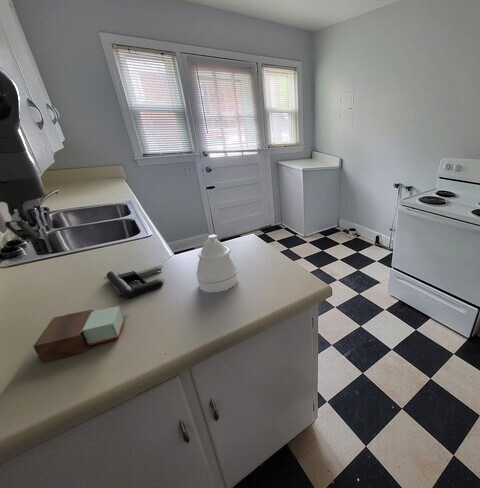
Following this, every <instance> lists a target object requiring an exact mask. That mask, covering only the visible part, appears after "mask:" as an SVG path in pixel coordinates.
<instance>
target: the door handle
mask: <svg viewBox="0 0 480 488" xmlns="http://www.w3.org/2000/svg"><path fill="white" fill-rule="evenodd" d="M158 271H161V272H162V267H160V266H159V265H158V266H155V267H152V268H148V269H144V270H141V271H137V272H136V271H135V270H132V271H128V272H125V273H120V274H118V273H117V272H116V271H114V270H113V271H112V270H111V271H110V270H109V271H108V272H107V273H106V277H105V279H108V281H109V282H110V283H111V284H112V287H113V286H114V287H113V288H114V289H115V290H116V291H117V294H119V297H121V296H122V297H123V298H125V299H131V298H133V297H134V296H137V295H140V294H143V293H147V292H149V291H152V290H154V289H157V288H161V287H163V285H164V283H163V281H162V280H161V279H154V280H150V281H146V280H145V279H143V278H144V276H145V277H148V276H151V275H154V274H153V273H155V274H157V273H156V272H158ZM158 273H159V272H158ZM150 274H151V275H150ZM147 275H148V276H147ZM135 280H138V282H139V281H140V282H139V283H141V284H139V283H136V284H135V285H133V286H130V285H129V284H130V283H129V282H131V283H133V282H132V281H134V282H136V281H135ZM127 283H128V284H127Z"/></svg>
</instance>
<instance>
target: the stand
mask: <svg viewBox="0 0 480 488" xmlns="http://www.w3.org/2000/svg"><path fill="white" fill-rule="evenodd" d="M93 311H94V309H87V310H83V311H82V310H81V311H78V312H74V313H73V312H72V313H68V314H63V315H59V316H55V317H53V318H52V319H51V320H50V321H49V323H48V324H47V326H46V328H45V329H44V330H43V331H42V333H41V334H40V336H39V337H38V339H37V340H36V341H35V343H34V344H33V348H34V351H35V352H36V354H37V356H38V358H39V360H40V362H41V363H42V364H46V363H47V364H48V363H51V362H55V361H59V360H63V359H66V358H70V357H75V356H78V355H81V354H85V353H87V352H88V350H89V348H90V346H88V345H87V344H88V343H87V341H86V339H85V336H84V334H83V332H82V330H83V328H84V326H85V324H86V322H87V320H88V318H89V316H90V314H91V312H93Z"/></svg>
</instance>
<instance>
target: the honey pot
mask: <svg viewBox="0 0 480 488" xmlns="http://www.w3.org/2000/svg"><path fill="white" fill-rule="evenodd" d="M230 253H231V249H230V248H229V247H228V246H225V245H223V243H222V242H221V241H220V240H219V239H218V235H217V234H209V235H208V239H206V240H205V241H204V243H203V246H202V248H201V250H200V251H199V252H198V254H197V256H198V258H199V260H198V262H197V270H196V272H195V273H196V279H197V284H198V288H199V287H200V288H199V290H201V291H202V290H203V291H202V292H205V291H206V292H205V293H219V292H220V291H221V292H224V291H228V290H229V288H230V289H231V288H233V287H235V286H236V285H237V284H238V282H239V275H238V271H237V265H236V263H235V262H234V260H233V257H232V256H231V255H230ZM237 281H238V282H237ZM236 283H237V284H236ZM235 284H236V285H235ZM232 286H233V287H232Z"/></svg>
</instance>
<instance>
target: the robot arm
mask: <svg viewBox="0 0 480 488" xmlns="http://www.w3.org/2000/svg"><path fill="white" fill-rule="evenodd" d="M20 104H21V103H20V93H19V89H18V87H17V84H16V83H15V81H14V79H13V78H12V77H11V75H10V74H9V73H8V72H7V71H6V70H4V68H2V67H0V203H4V204H6V206H7V211H8V214H9V216H10V218H11V220H10V221H5V222H4V225H5V227H6V228H7V229H8V230H9V231H11V232H12V233H13V234H14V235H15V236H17V238H19V239H20V240H22V241H30V243H31V245H32V248H33V250H34V252H35V254H36V255H37V256H47V255H49V254H51V253H52V252H53V249H52V246H51V244H50V241H49V239H48V235H49V233H48V232H50V231H51V211H50V210H51V209H50V208H49V206H44V205H42V202H41V201H40V199H42V198H45V197H46V195H47V191H46V189H45V187H44V184H43V181H42V179H41V176H40V173H39V171H38V168H37V165H36V163H35V161H34V159H33V157H32V155H31V153H30V151H29V148H28V146H27V143H26V141H25V138H24V135H23V133H22V130H21V109H20V107H21V105H20Z"/></svg>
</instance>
